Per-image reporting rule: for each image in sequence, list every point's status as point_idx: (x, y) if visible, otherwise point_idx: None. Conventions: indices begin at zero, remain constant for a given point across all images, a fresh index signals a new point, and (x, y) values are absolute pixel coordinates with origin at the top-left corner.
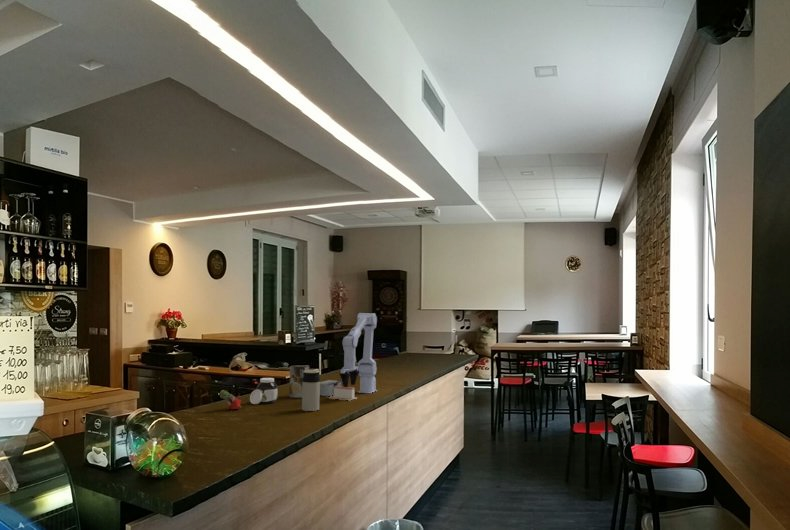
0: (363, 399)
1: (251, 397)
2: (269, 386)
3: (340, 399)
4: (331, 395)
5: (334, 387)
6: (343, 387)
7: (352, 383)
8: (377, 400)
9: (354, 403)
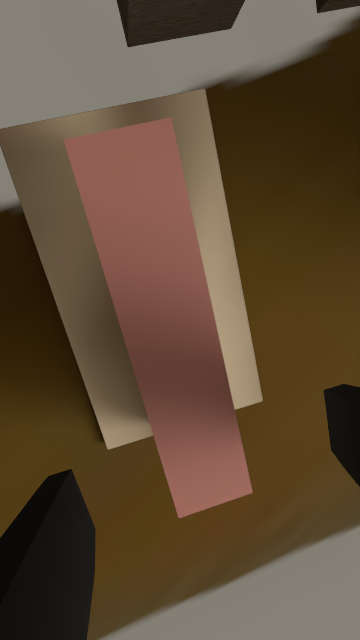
0: (258, 456)
1: None
2: None
3: (70, 338)
4: (183, 33)
5: (71, 163)
6: (134, 372)
7: (343, 429)
8: (295, 551)
9: None
